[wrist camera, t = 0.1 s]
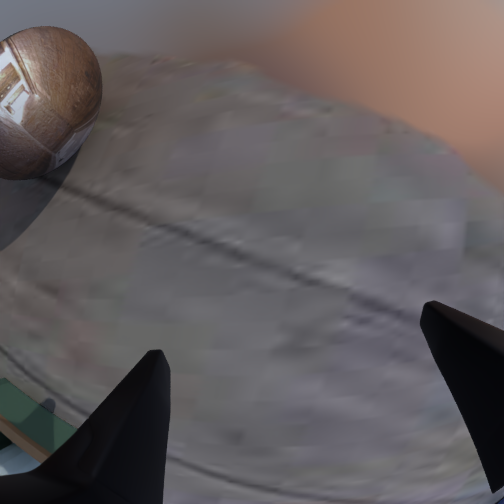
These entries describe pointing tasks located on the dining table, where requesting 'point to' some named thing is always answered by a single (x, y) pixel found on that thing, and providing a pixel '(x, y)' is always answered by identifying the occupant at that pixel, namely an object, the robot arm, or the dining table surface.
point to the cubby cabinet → (29, 424)
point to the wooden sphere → (45, 100)
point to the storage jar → (16, 461)
